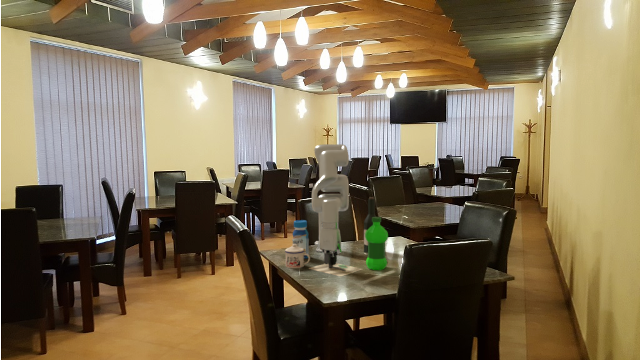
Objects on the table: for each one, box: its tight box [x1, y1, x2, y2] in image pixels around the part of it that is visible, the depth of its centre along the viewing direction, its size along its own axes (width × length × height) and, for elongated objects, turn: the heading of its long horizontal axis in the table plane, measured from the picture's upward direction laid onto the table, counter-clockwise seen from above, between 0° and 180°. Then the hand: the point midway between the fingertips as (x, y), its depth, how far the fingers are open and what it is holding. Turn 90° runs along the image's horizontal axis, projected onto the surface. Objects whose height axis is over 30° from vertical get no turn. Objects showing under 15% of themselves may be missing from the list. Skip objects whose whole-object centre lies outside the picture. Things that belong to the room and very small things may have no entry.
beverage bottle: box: [291, 219, 310, 260], centre depth 236 cm, size 8×8×20 cm
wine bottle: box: [363, 196, 377, 254], centre depth 252 cm, size 8×8×30 cm
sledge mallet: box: [323, 252, 345, 270], centre depth 214 cm, size 10×6×7 cm, turn 47°
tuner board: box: [307, 262, 363, 277], centre depth 214 cm, size 20×16×1 cm
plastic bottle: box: [365, 216, 389, 271], centre depth 214 cm, size 10×10×25 cm
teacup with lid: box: [284, 243, 311, 269], centre depth 220 cm, size 12×9×12 cm
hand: (330, 263), depth 216 cm, fingers closed on sledge mallet, 2 cm apart
